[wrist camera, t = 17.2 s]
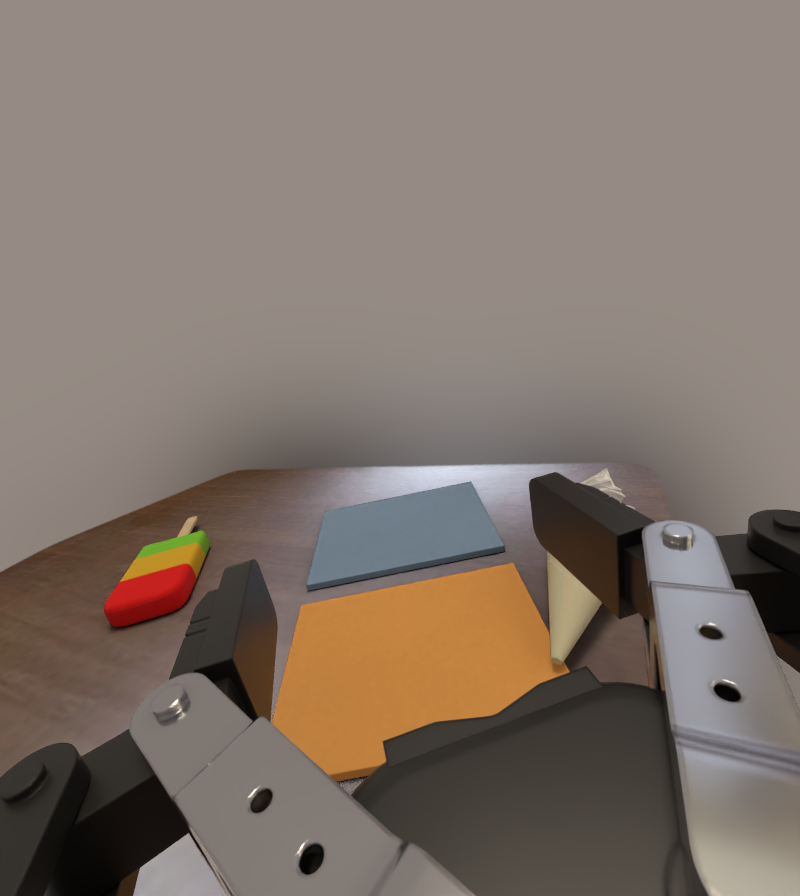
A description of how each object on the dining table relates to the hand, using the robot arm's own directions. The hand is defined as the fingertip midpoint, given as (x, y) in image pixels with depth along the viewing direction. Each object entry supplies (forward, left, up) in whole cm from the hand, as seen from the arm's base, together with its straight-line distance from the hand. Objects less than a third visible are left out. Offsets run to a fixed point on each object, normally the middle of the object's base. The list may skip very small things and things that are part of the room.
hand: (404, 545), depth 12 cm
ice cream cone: (-5, -4, -10) cm, 12 cm away
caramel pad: (+1, -7, -11) cm, 13 cm away
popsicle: (+21, -22, -11) cm, 33 cm away
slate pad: (+1, -20, -11) cm, 23 cm away
